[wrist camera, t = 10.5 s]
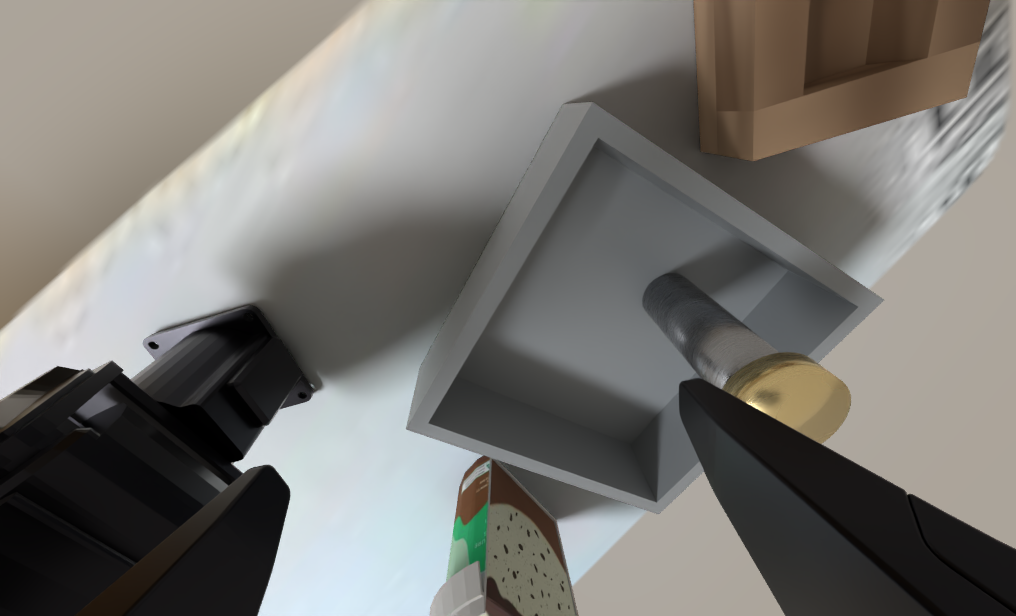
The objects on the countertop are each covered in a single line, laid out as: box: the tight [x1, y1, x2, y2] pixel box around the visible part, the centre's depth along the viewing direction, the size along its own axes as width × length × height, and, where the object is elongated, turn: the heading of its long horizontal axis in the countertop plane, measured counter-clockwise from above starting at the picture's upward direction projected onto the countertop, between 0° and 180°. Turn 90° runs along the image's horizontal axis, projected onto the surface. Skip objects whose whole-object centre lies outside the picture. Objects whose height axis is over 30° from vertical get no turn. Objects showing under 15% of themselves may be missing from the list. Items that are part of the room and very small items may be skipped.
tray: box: [406, 102, 884, 514], centre depth 20 cm, size 16×16×5 cm
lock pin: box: [642, 273, 851, 444], centre depth 17 cm, size 4×4×10 cm
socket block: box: [693, 0, 990, 161], centre depth 15 cm, size 8×8×4 cm
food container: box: [430, 456, 578, 616], centre depth 25 cm, size 12×6×10 cm, turn 33°
